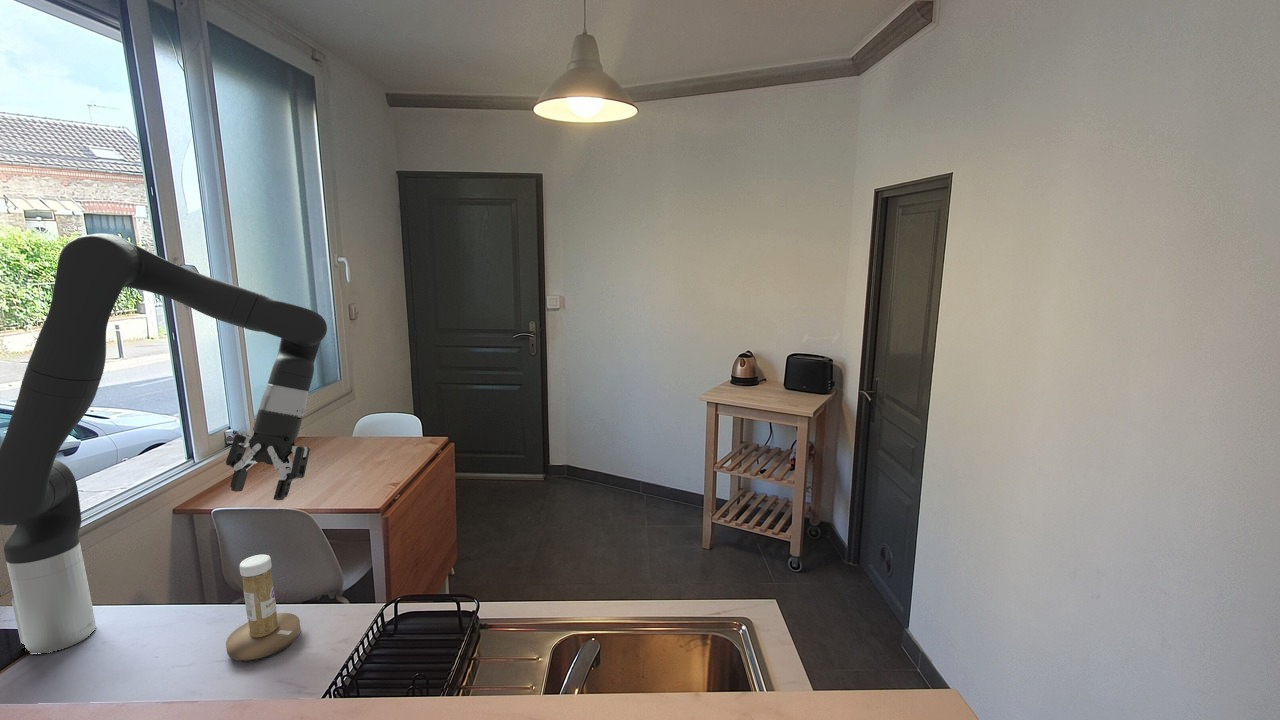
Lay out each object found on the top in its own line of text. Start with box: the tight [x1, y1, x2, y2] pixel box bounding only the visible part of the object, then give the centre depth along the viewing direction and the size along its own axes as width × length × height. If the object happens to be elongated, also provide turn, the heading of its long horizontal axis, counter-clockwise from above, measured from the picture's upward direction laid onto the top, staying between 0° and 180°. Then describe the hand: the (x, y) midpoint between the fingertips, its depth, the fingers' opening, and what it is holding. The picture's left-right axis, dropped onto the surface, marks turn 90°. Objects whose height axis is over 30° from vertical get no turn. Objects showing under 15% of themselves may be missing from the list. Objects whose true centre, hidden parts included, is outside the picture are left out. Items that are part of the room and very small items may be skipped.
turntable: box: [225, 612, 302, 661], centre depth 103 cm, size 11×11×2 cm
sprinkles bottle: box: [239, 554, 279, 637], centre depth 102 cm, size 5×5×13 cm
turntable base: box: [238, 641, 294, 663], centre depth 103 cm, size 9×9×1 cm
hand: (257, 495), depth 110 cm, fingers open, 8 cm apart
